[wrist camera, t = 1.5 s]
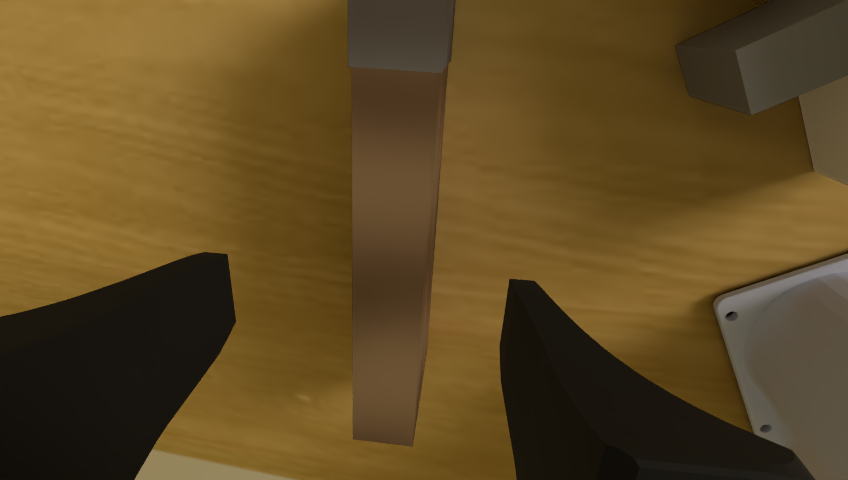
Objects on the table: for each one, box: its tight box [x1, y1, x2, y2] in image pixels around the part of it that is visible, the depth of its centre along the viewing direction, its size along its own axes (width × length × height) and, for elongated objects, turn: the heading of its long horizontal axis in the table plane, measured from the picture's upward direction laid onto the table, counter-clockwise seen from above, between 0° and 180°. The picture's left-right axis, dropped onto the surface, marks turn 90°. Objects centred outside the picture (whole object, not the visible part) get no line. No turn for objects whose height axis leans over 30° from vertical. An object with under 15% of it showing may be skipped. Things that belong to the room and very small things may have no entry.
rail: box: [348, 0, 455, 446], centre depth 18 cm, size 17×3×6 cm, turn 177°
